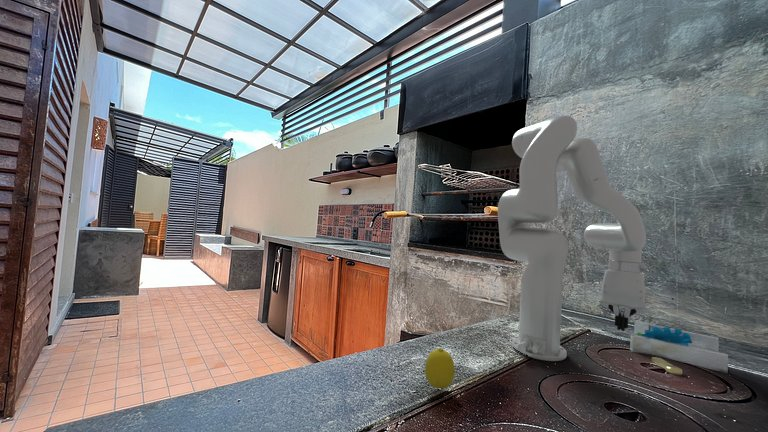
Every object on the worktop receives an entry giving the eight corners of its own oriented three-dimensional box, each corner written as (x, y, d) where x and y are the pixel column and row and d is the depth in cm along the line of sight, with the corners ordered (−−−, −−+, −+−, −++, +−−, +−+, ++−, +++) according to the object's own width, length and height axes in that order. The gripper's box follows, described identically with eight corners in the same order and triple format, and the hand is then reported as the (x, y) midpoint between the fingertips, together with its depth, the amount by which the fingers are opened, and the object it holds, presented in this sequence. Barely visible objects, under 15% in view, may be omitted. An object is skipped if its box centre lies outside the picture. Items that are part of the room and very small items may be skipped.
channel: (728, 375, 70) (729, 358, 70) (629, 350, 82) (630, 335, 82) (717, 350, 85) (717, 336, 85) (634, 332, 96) (634, 319, 96)
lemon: (433, 379, 62) (435, 340, 63) (458, 390, 59) (460, 348, 59) (418, 390, 58) (420, 348, 58) (444, 402, 55) (446, 357, 55)
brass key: (685, 375, 69) (685, 371, 69) (672, 374, 69) (672, 370, 69) (661, 361, 76) (662, 357, 76) (649, 360, 76) (649, 356, 76)
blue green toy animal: (689, 346, 82) (692, 326, 77) (696, 368, 78) (699, 349, 73) (636, 341, 88) (636, 322, 83) (640, 361, 85) (640, 343, 79)
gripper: (658, 270, 88) (655, 333, 88) (595, 262, 99) (592, 320, 98) (657, 272, 83) (654, 340, 83) (591, 264, 93) (588, 325, 93)
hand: (621, 329), depth 90 cm, fingers closed
